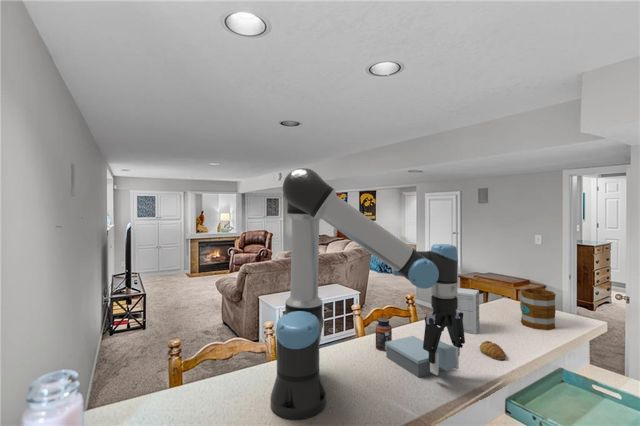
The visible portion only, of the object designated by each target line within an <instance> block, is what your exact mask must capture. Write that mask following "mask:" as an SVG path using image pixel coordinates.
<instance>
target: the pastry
mask: <svg viewBox="0 0 640 426" xmlns="http://www.w3.org/2000/svg"><path fill="white" fill-rule="evenodd" d="M479 350H480V352H481V353H482V354H483V355H484V356H487V358H488V357H489V358H490V359H493V360H497V361H501V360H505V358H506V357H507V355H506V352H505V351H504V350H503V348H502V347H501V346H500V345H498V344H497V343H493V341H489V340H485V341H483V342H481V344H480V345H479Z"/></svg>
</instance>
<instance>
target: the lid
mask: <svg viewBox="0 0 640 426" xmlns="http://www.w3.org/2000/svg"><path fill="white" fill-rule="evenodd" d="M423 342H424V339H423V340H422V339H421V338H419V337H416V336H414V335H410V336H407V337H402V338H396V339H392V341H387V342H385V345H386V346H388V347H390V348H392V349H393V350H395V351H397V352H398V353H400V354H402V355H404V356H405V357H407V358H409V359H410V360H412V361H414V362H416V363H417V364H420V363H424V362H428V361H429V352H428V351H426V350H424V349H423ZM450 345H451V344H448V343H446V342H443V341H441V340H440V341H439V344H438V348H437V351H436V352H437V353H439V367H440V368H442V369H444V370H443V371H446V372H447V371H450V370H454V369H455V368H456V348H455V347H452V346H450ZM432 348H433V347H432Z"/></svg>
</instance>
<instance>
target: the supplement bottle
mask: <svg viewBox="0 0 640 426" xmlns="http://www.w3.org/2000/svg"><path fill="white" fill-rule="evenodd" d="M377 322H378V323H377V324H376V325H375V350H377V351H379V352H386V345H385V342H387V341H392V340H393V339H392V337H393V336H392V334H393V332H392V331H393V330H392V329H393V328H392V327H393V326H392V325H390V320H389V318H386V317H385V318H384V317H380V318H378V320H377Z"/></svg>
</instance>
